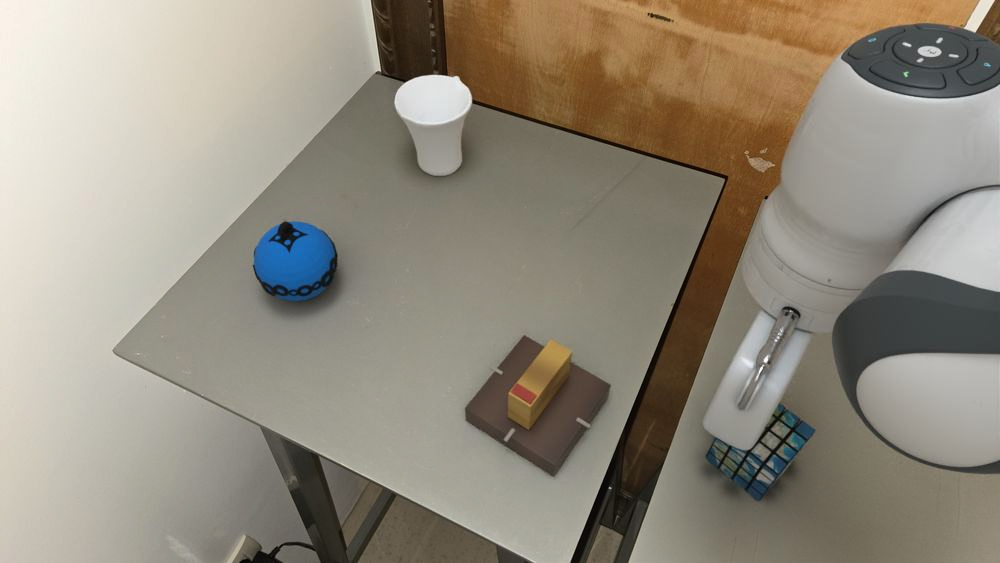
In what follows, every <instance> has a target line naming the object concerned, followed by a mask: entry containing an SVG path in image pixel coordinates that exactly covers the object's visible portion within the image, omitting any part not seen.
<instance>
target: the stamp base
mask: <svg viewBox="0 0 1000 563" xmlns="http://www.w3.org/2000/svg"><path fill="white" fill-rule="evenodd" d="M544 347H545V345H543V344H541V343H539V342H538V341H536V340H534V339H532V338H530V337H528V336H527V335H525V334H523V336H522V337H521V338H520V339H519V340H518V341H517V343H515V345H514V347H513V348H512V349H511V350H510V352H509V353H508V354H507V355H506V357H505V358H504V359H503V360H502V362H500V364H499V365H498V366H497V367H496V366H494V365H492V364H491V365H490V366H489V369H490V370H491V371H493V373H492V374H491V375H490V376H489V378H488V379H487V380H486V381H485V383H484V384H483V385H482V386H481V388H479V390H478V391H477V392H476V394H475V395H474V396H473V397H472V398H471V400H470V401H469V403H467V405H466V406H465V407H464V415H465V416H464V417H465V422H468V423H469V424H470V425H472V426H474V427H476V428H477V429H479V430H480V431H481V432H483V433H485V434H487V435H488V436H489V437H491V438H492V439H494V440H496V442H497V441H498V442H499V443H501V444H502V445H503V446H505V447H506V448H508V449H509V450H511V451H513V452H514V453H516V454H517V455H519V456H521V457H522V458H524V459H525V460H526V461H528V462H530V463H531V464H533V465H534V466H536V467H538V468H539V469H541V470H542V471H544V472H545V473H547V474H549V475H550V476H551V477H555V475H557V473H558V471H559V470H560V469H561V467H562V465H563V464H564V463H565V461H566V459H568V456H569V455H570V454H571V452H572V451H573V449H574V448H575V447H576V446H577V444H578V442H579V441H580V439H581V438H582V436H583V435H584V433H585V432H586V430H587V429H590V428H591V427H592V425H591V423H592V422H593V420H594V419H595V417H596V416H597V414H598V413H599V412H600V410H601V409H602V407H603V406H604V404H605V403H606V401H607V400H608V398H609V395H610V391H611V387H612V385H611V383H608V381H605V380H603V379H601V378H599V377H598V376H596V375H595V374H593V373H591V372H589V371H587V370H586V369H584V368H582V367H581V366H579V365H577V364H576V363H575V362H572V361H571V365H570V371H569V377H568V378H567V379H566V381H565V382H564V383H563V385H562V386H561V387H560V389H559V390H558V391H557V393H556V394H555V395H554V397H553V398H552V399H551V401H550V402H549V404H548V405H547V406H546V408H545V409H544V410H543V412H542V413H541V414H540V416H539V417H538V418H537V420H536V421H535V422H534V424H533V425H532V426H531V428H530V429H529V430H528V429H526V428H525V427H523V426H522V425H520V424H519V423H517V422H515V421H514V420H512V419H511V418H509V417H508V393H509V392H510V390H511V389H512V388H513V387H514V385H515V384H516V383H517V381H518V380H519V379H520V378H521V376H522V375H523V374H524V373H525V371H526V370H527V369H528V367H529V366H530V365H531V364H532V362H533V361H534V360H535V359H536V357H537V356H538V355H539V353H540V352H541V351H542V350H543V348H544Z"/></svg>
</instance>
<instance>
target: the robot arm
mask: <svg viewBox="0 0 1000 563" xmlns="http://www.w3.org/2000/svg"><path fill="white" fill-rule="evenodd" d="M747 243H748V244H747V246H746V248H745V250H744V253H743V257H742V261H741V274H742V280H743V282H744V284H745V286H746V289H747V291H748V293H749V294H750V295H751V297H752V298H753V300H754V301H755V302H756V303H757V305H759V306H760V308H759V310H758V311H757V313H756V314H755V316H754V318H753V320H752V322H751V323H750V325H749V327H748V329H747V331H746V332H745V333H744V336H743V338H742V339H741V341H740V343H739V345H738V347H737V348H736V350H735V352H734V353H733V355H732V357H731V359H730V361H729V363H728V365H727V367H726V369H725V370H724V372H723V375H722V377H721V379H720V381H719V383H718V385H717V387H716V389H715V390H714V393H713V395H712V397H711V399H710V402H709V403H708V406H707V407H706V410H705V412H704V414H703V417H702V421H701V424H702V428H704V430H705V431H706V432H708V434H710V435H711V436H713V437H717V438H718V439H720V440H722V441H724V442H725V443H727V444H729V445H731V446H733V447H736V448H738V449H741V450H749V449H751V448H752V447H753V446H754V445H755V443H756V442H757V441H758V439H759V437H760V435H761V434H762V432H763V430H764V429H765V427H766V425H767V424H768V422H769V420H770V418H771V417H772V415H773V413H774V411H775V410H776V408H777V406H778V404H779V403H780V404H781V401H782V400H783V397H784V395H785V393H786V392H787V390H788V388H789V387H790V384H791V382H792V380H793V378H794V376H795V374H796V372H797V370H798V368H799V366H800V364H801V362H802V360H803V358H804V356H805V354H806V352H807V351H808V348H809V347H810V344H811V342H812V340H813V338H814V337H815V334H816V333H817V334H831V346H832V352H833V357H834V362H835V366H836V369H837V374H838V376H839V380H840V383H841V386H842V389H843V390H844V393H845V395H846V397H847V399H848V401H849V404H850V405H851V407H852V409H853V410H854V412H855V413H856V415H857V416H858V418H859V419H860V420H861V422H862V423H863V424H864V426H866V428H867V429H868V430H869V431H870V432H871V433H872V434H873V435H874V436H875V437H876V438H877V439H878V440H880V441H881V442H882V443H884V444H885V445H886V446H888V447H889V448H891V449H892V450H893V451H894V452H897V453H899V454H900V455H902V456H904V457H906V458H908V459H910V460H912V461H914V462H916V463H917V462H918V463H920V464H921V465H924V466H925V465H926V466H927V467H928V466H929V467H932V468H935V469H940V470H945V471H949V472H957V473H962V474H972V475H973V474H974V475H1000V44H998V43H997V42H996V41H994V40H992V39H991V38H989V37H987V36H985V35H982V34H981V33H977V32H975V31H972V30H969V29H967V28H963V27H959V26H955V25H949V24H944V23H932V22H915V23H911V24H899V25H895V26H889V27H886V28H882V29H879V30H876V31H874V32H872V33H869V34H866V35H865V36H863V37H861V38H860V39H859V38H858V40H856V41H854V42H853V43H852V44H850V45H849V46H847V47H846V48H844V49H843V51H841V52H840V53H839V54H838V55H837V56H836V58H834V60H833V61H832V62H831V64H830V65H829V66H828V68H827V69H826V70H825V72H824V73H823V75H822V77H821V78H820V80H819V81H818V83H817V85H816V87H815V88H814V90H813V92H812V94H811V95H810V98H809V99H808V102H807V103H806V105H805V107H804V109H803V111H802V113H801V115H800V117H799V119H798V121H797V124H796V126H795V128H794V130H793V133H792V135H791V137H790V139H789V142H788V144H787V146H786V148H785V151H784V154H783V157H782V161H781V165H780V182H779V184H777V186H776V187H774V189H773V190H772V192H771V193H770V194H769V195H768V197H767V199H766V200H765V202H764V203H763V206H762V209H761V212H760V214H759V216H758V218H757V221H756V223H755V226H754V229H753V231H752V233H751V236H750V239H749V242H747Z"/></svg>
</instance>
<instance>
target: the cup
mask: <svg viewBox="0 0 1000 563" xmlns="http://www.w3.org/2000/svg"><path fill="white" fill-rule="evenodd" d="M460 78H461V77H460V76H458V75H455V76H449V75H441V74H428V75H421V76H418V77H414V78H412V79H410V80H408V81H405V83H403V84H401V86H400V87H399V88H398V89H397V92H396V93H395V97H394V102H393V103H394V107H395V110H396V113H397V115H398V116H399V117H400V119H401V120H402V121H403V123H404V124H405V125H406V126H407V129H408V132H409V133H410V135H411V137H412V140H413V144H414V147H415V150H416V159H417V164H418V166H419V168H420V169H421V171H424V173H426V174H428V175H430V176H434V177H435V176H436V177H445V176H451V175H452V174H453V173H455V172H456V171H457V170H458V169H459V168H460V167H461V166H462V163H463V152H462V132H463V129H464V125H465V121H466V120H465V119H466V117H467V115H468V114H469V112H470V110H471V108H472V105H473V95H472V93H471V90H470V88H469V87H468V86H466V85H465V84H464V83H463V82H462V80H460Z"/></svg>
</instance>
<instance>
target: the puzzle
mask: <svg viewBox="0 0 1000 563" xmlns="http://www.w3.org/2000/svg"><path fill="white" fill-rule="evenodd" d="M815 433H816V429H815V428H814V427H812V426H811V425H810V424H809V423H807V422H806V421H804V420H803V419H801V418H800V417H799V416H798V415H796V414H795V413H794V412H792V411H791V410H789V409H787V408H786V407H785V406H784V405H783V404H782V403H781V402H780V403H779V404H778V406H777V408H776V410H775V411H774V413H773V415H772V417H771V418H770V420H769V422H768V424H767V425H766V427H765V429H764V430H763V432H762V434H761V435H760V437H759V439H758V441H757V442H756V443H755V445H754V446H753V447H752V448H751V449H749V450H741V449H738V448H736V447H733V446H731V445H729V444H727V443H725V442H724V441H722V440H720V439H718V438H717V437H715V436H714V437H715V438H714V439H713V441H712V443H711V445H710V447H709V449H708V451H707V452H706V454H705V459H706V460H707V461H708V462H710V463H711V464H712V465H713V466H714V467H716V468H718V470H720V472H722V473H723V474H724V475H725V476H727V477H728V478H729V479H732V481H733V482H734V483H735V484H736V485H738V486H739V487H740V488H741V489H742V490H745V491H746V493H747V494H749V495H750V496H751V497H752V498H753V499H755V500H756V501H757V502H761V500H762V499H763V498H764V497H765V496H766V494H767V493H768V492H769V491H770V490H771V489H772V487H774V485H775V484H776V483H777V482H778V480H779V479H781V477H782V476H783V474H784V473H785V472H786V471H787V469H788V468H789V467H790V466H791V465H792V464H793V463H794V461H795V460H796V459H797V457H798V456H799V455H800V454H801V452H802V451H803V450H804V448H805V447H806V445H807V444H808V443H809V441H810V440H811V439H812V438H813V436H814V435H815Z"/></svg>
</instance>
